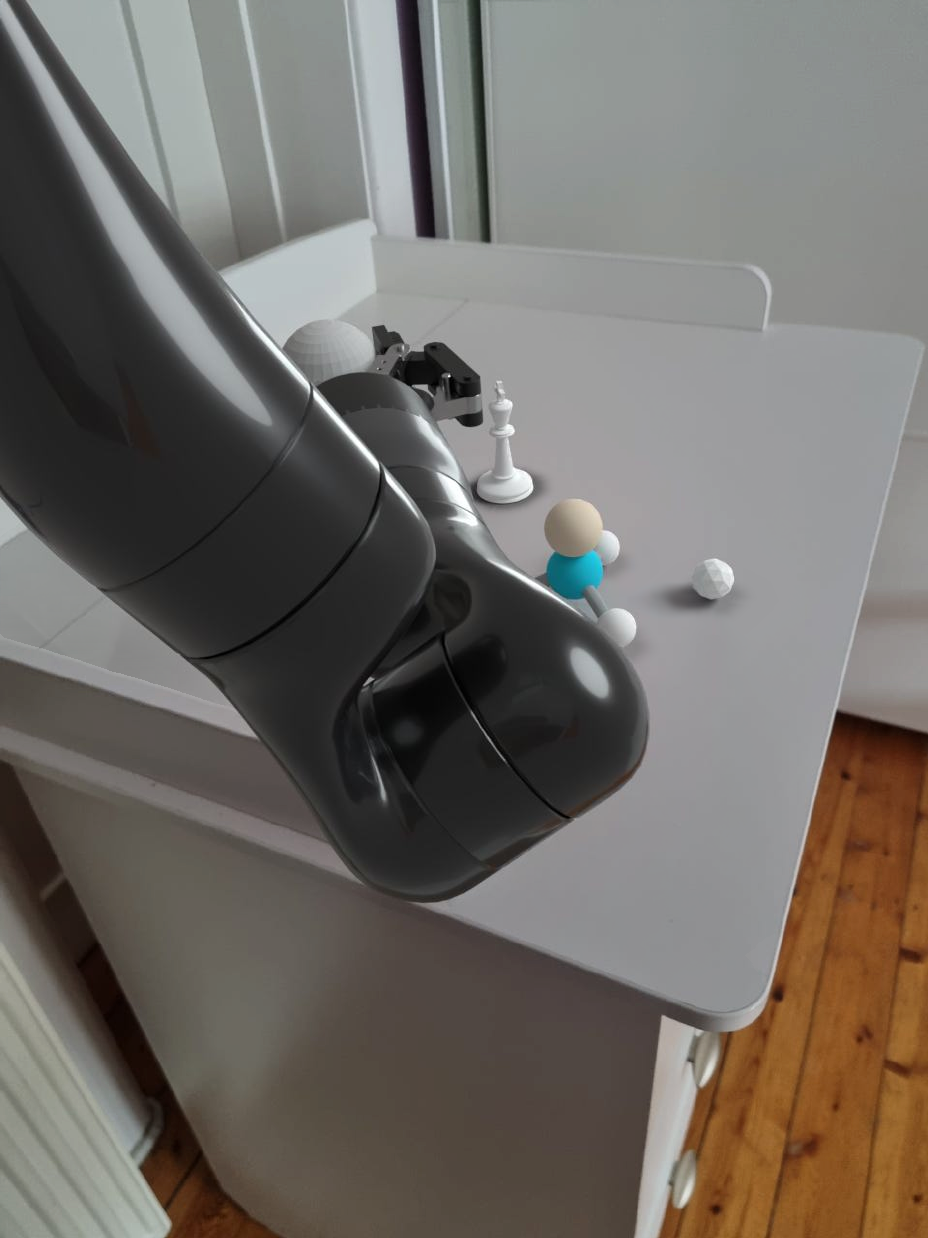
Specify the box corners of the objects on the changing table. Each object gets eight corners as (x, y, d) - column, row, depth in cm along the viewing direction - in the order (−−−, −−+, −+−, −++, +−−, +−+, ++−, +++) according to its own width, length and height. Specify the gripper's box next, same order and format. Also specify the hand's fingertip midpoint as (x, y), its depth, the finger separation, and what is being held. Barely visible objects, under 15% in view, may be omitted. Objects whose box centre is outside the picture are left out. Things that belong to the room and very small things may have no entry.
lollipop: (352, 517, 64) (314, 297, 55) (425, 537, 61) (397, 309, 52) (294, 565, 60) (242, 336, 51) (370, 589, 57) (329, 352, 48)
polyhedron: (696, 610, 68) (700, 576, 66) (686, 585, 70) (689, 551, 68) (736, 606, 68) (740, 572, 66) (724, 581, 70) (728, 547, 68)
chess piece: (486, 508, 80) (479, 400, 74) (470, 481, 84) (461, 375, 78) (541, 496, 81) (538, 388, 75) (522, 469, 85) (518, 364, 78)
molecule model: (677, 643, 65) (686, 537, 59) (512, 682, 63) (506, 576, 58) (611, 550, 74) (614, 450, 69) (466, 582, 72) (457, 482, 67)
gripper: (528, 381, 41) (436, 265, 53) (191, 444, 38) (179, 308, 51) (534, 528, 45) (447, 389, 58) (233, 592, 43) (213, 433, 56)
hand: (322, 351), depth 55 cm, fingers closed on lollipop, 6 cm apart
